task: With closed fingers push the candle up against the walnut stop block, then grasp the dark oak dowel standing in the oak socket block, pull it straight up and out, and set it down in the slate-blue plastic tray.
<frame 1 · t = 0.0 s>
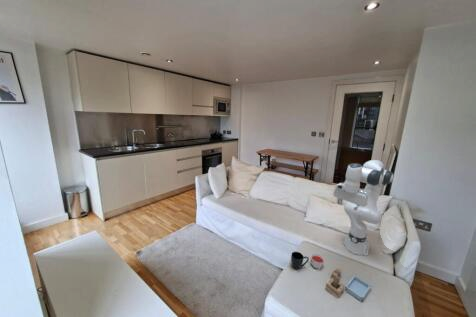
hand: (347, 207, 131), 48 cm above the table, fingers open, 8 cm apart
candle: (316, 265, 143), on the table
socket block: (334, 290, 124), on the table
tray: (357, 289, 124), on the table
dowel: (335, 283, 122), in the socket block
mug: (298, 267, 141), on the table
stop block: (335, 277, 133), on the table
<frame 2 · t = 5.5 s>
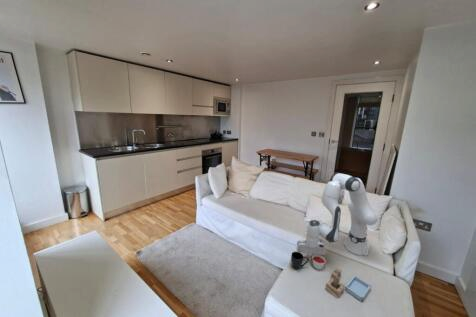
hand: (309, 257, 147), 3 cm above the table, fingers closed
candle: (317, 266, 142), on the table, touching gripper
everything else where it was.
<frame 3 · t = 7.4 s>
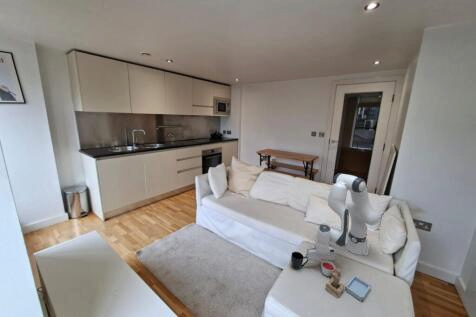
hand: (319, 263, 141), 3 cm above the table, fingers closed
candle: (326, 272, 137), on the table, touching gripper, stop block
everything else where it was.
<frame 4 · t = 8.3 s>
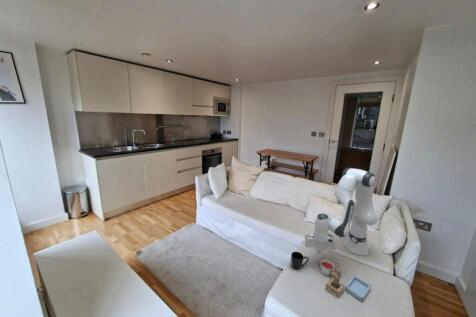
hand: (318, 252, 141), 11 cm above the table, fingers closed
candle: (326, 271, 138), on the table
everything else where it was.
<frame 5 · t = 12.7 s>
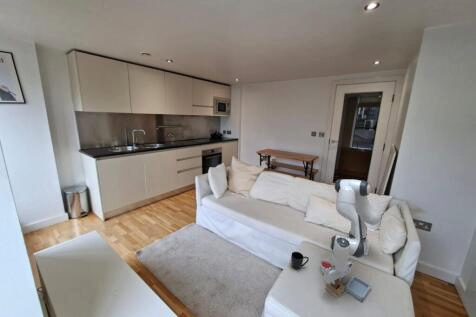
hand: (335, 282, 122), 6 cm above the table, fingers closed on dowel, 3 cm apart
dowel: (335, 283, 122), in the socket block, touching gripper
everything else where it was.
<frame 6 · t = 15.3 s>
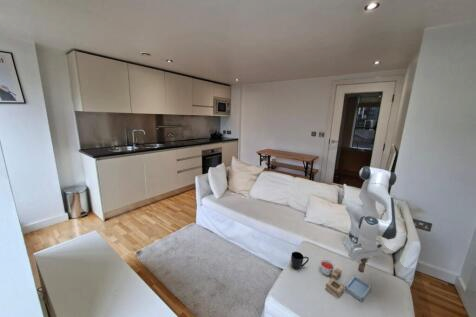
hand: (362, 262, 119), 21 cm above the table, fingers closed on dowel, 3 cm apart
dowel: (362, 264, 119), point 20 cm above the table, touching gripper
everything else where it was.
when the fingers open (8 cm above the table, at t = 18.1 s): dowel drops 1 cm, resting on tray.
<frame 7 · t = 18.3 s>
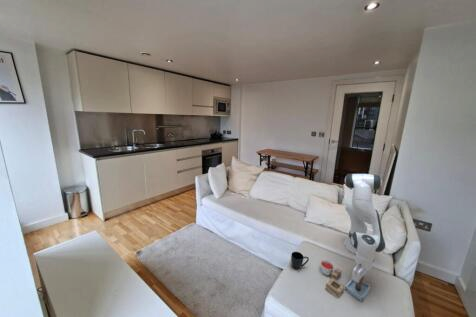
hand: (359, 279, 122), 8 cm above the table, fingers open, 5 cm apart
dowel: (359, 282, 123), in the tray, point 6 cm above the table
everything else where it was.
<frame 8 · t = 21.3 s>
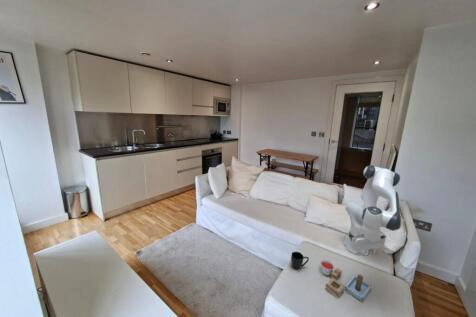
hand: (365, 253, 117), 27 cm above the table, fingers open, 8 cm apart
nothing on the table moved.
at the end: candle inside the target area (0.4 cm from its centre), on the table; dowel inside the target area on the tray (0.0 cm from its centre), point 5.6 cm above the tray's base; the gripper is holding nothing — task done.
